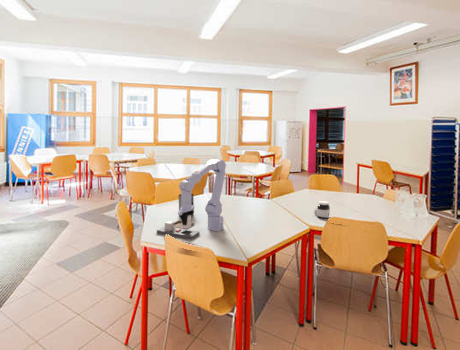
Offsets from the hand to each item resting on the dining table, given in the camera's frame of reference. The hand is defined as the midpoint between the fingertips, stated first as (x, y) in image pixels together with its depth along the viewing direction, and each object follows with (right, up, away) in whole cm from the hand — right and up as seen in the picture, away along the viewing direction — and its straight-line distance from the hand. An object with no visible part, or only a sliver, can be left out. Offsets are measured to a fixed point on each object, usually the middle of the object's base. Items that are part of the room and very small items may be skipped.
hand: (186, 223), depth 174 cm
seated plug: (-11, -7, +6) cm, 14 cm away
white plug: (0, -2, 0) cm, 2 cm away
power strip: (-6, -7, +4) cm, 10 cm away
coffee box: (-6, -1, +42) cm, 42 cm away
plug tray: (-6, -5, +18) cm, 19 cm away
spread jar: (+92, -2, +44) cm, 102 cm away
